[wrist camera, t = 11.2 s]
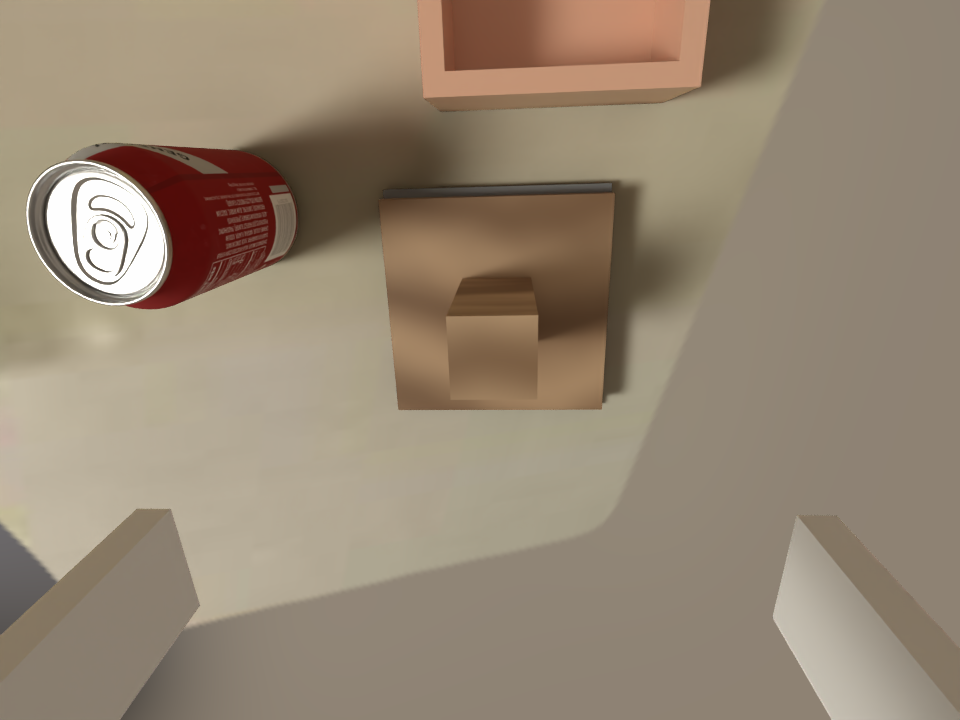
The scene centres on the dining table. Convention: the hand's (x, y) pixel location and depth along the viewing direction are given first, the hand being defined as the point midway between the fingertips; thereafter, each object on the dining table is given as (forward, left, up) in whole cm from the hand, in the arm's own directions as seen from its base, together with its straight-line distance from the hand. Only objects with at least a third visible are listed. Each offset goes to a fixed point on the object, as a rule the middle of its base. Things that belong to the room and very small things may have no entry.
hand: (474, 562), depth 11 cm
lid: (0, 0, -22) cm, 22 cm away
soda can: (-6, -15, -23) cm, 28 cm away
